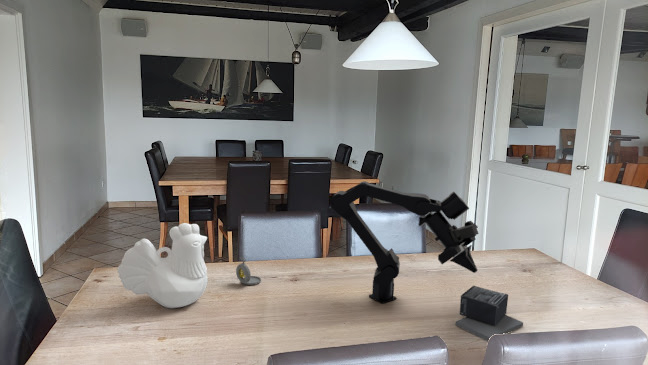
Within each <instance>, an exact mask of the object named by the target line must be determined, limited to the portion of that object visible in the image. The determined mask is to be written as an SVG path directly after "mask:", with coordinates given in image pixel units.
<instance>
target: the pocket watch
mask: <svg viewBox="0 0 648 365" xmlns="http://www.w3.org/2000/svg"><path fill="white" fill-rule="evenodd" d="M240 260H241V262H242V263H239V264H238V265H237V267H236V268H235V273H236V274H235V275H236V277H237V279H238V280H239V282H241V284H243V285H246V286H252V285H258V284H260V283H261V281H262V279H261V277H260V276H256V275H252V274H251V270H250V268H249V266H248V265H247V264H246V263H245V262H246V261H247V260H246V259H245V258H244V257H243V256H241V257H240Z"/></svg>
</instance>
